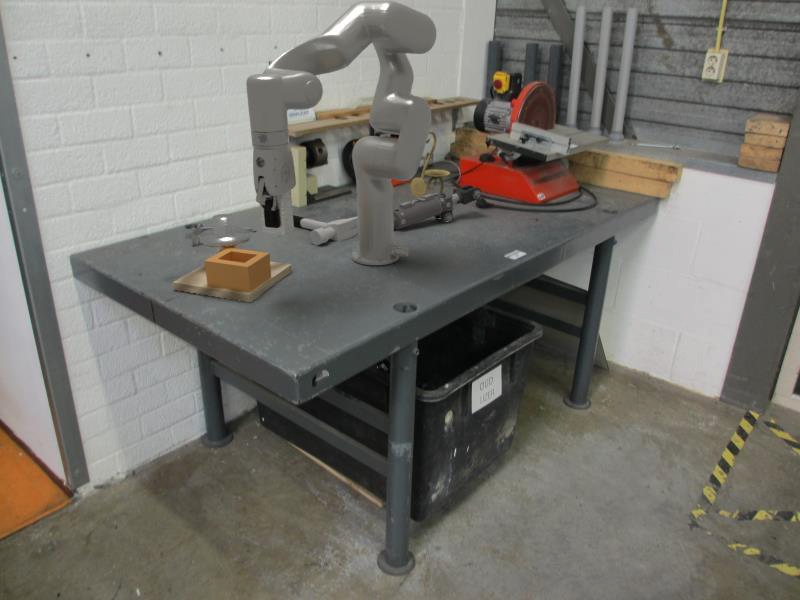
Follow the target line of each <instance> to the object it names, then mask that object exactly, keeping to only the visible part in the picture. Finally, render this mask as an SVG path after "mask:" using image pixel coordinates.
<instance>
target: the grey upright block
mask: <svg viewBox="0 0 800 600" xmlns="http://www.w3.org/2000/svg"><path fill="white" fill-rule="evenodd" d="M266 194H269V193H268V192H266ZM267 200H269V201H270V202H271V198H267ZM276 209H277V210H278V213H279V225H280V227H279V228H270V227H266V226H265V219H264V210H263V209H262V206H261V204H260V203H259V210H260V211H259V212H260V218H261V228H262V229H261V230H262V234H272V235H278V236H286V235H288V234H289V233H291V232H293V231H295V226H294V222H293V215H294V211H293V199H292V189H291V190H289V191H287V192H285V193H283V194H282V195H281V196H279V197H276Z"/></svg>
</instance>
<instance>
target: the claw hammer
mask: <svg viewBox="0 0 800 600" xmlns="http://www.w3.org/2000/svg"><path fill="white" fill-rule="evenodd" d="M293 222H294V227H299V228H300V229H301V228H302V229H309V230H311V231H310V232H309V240H310V242H311V244H313V245H314V246H320V245H322V244H326V243H327V242H328V241H329V240H332V241H334V242H342V241H345V240H348V239H350V238H352V237H354V236H357V215H356V216H354V217H349V218H341V219H337V220H332V221H329V222H324V221H319V220H315V219H311V218H307V217H302V216H298V215H294V214H293Z"/></svg>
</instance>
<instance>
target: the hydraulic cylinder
mask: <svg viewBox="0 0 800 600" xmlns="http://www.w3.org/2000/svg"><path fill="white" fill-rule="evenodd" d="M452 192H453V193H452V194H449V193H446V192H444V191H443V192H442V193H440V192H438V191H436V192H435V193H429V194H425V195H424V196H422V198H418V197H416V199H415V200H414V199H412V201H406V202H403V203H400V204H399V208H397V209H394V229H395V228H396V229H395V230H397V229H398V230H401V229H403V228H406V227H409V226H411V225H414V224H416V223H420V222H422V221H425V220H427V219H428V220H429V219H430V218H433V217H434V218H435V219H436V218H437V219H436V220H439V219H438V218H441V219H440V220H441V222H443V221H444V223H445V222H446V221H450V222H451V221H452V220H453V219H454V220H455V219H456V218H455V217H454V215H453V210H454V206H453V205H454V204H457V205H458V204H462V205H465V206H466V205H467V204H470V203H472V202H475V201H478V200H479V199H480V198H481V196H482V194H483V192H482V189H481V188H479V187H477V186H473V185H471V184H466V185H463V186H459V187H456V188H454V189H452ZM439 193H440V194H439Z"/></svg>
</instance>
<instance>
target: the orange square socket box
mask: <svg viewBox="0 0 800 600" xmlns="http://www.w3.org/2000/svg"><path fill="white" fill-rule="evenodd" d="M234 221H235V220H234V215H232V214H229V213H222V214H221V213H220V214H216V215H213V216H212V224H213V226H212V227H214V229H209V230H206V231H204V232H202V233H201V234H200V235H198V240H200V243H201V244H202V245H203V246H206V247H211V248H215V251H216V252H215V254H214V255H213V256H211V257H209V258H207V259H205V260H204V264H203V265H201V266H199V267H198V268H196V269H194V270H192V271H191V272H189V273H186V274H184V275H183V276H182V277H180V278H178V279H175V280H174V281H173V282H172V288H173V291H175V290H177V291H176V292H181V291H184V292H183V293H187V292H190V293H189V294H193V293H196V294H195V295H199V294H203V295H202V296H205V295H208V296H207V297H212V296H215V297H214V298H218V297H220V298H219V299H224V298H226V299H225V300H230V299H233V300H232V301H236V300H240V301H239V302H242V301H245V302H244V303H249V302H250V303H252V302H253V301H255V300H256V299H257V298H259V297H260V296H261V295H262V294H264V293H265V292H267V291H268V290H269V289H271V288H272V287H274V286H275V285H276V284H277V283H279V282H280V281H282V280H283V279H285V278H286V277H287V276H288V275H290V274H291V273H293V272H292V271H293V270H292V269H293V268H292V264H290V263H283V262H277V261H271V256H270V254H271V253H270V252H264V251H256V250H249V249H242V248H241V249H240V248H237V246H239V245H243V244H245V243H247V242H249V241H250V239H251V233H250V232H249V231H248V230H246V229H244V228H245V227H239V226H237V227H236V226H235V223H234Z"/></svg>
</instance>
